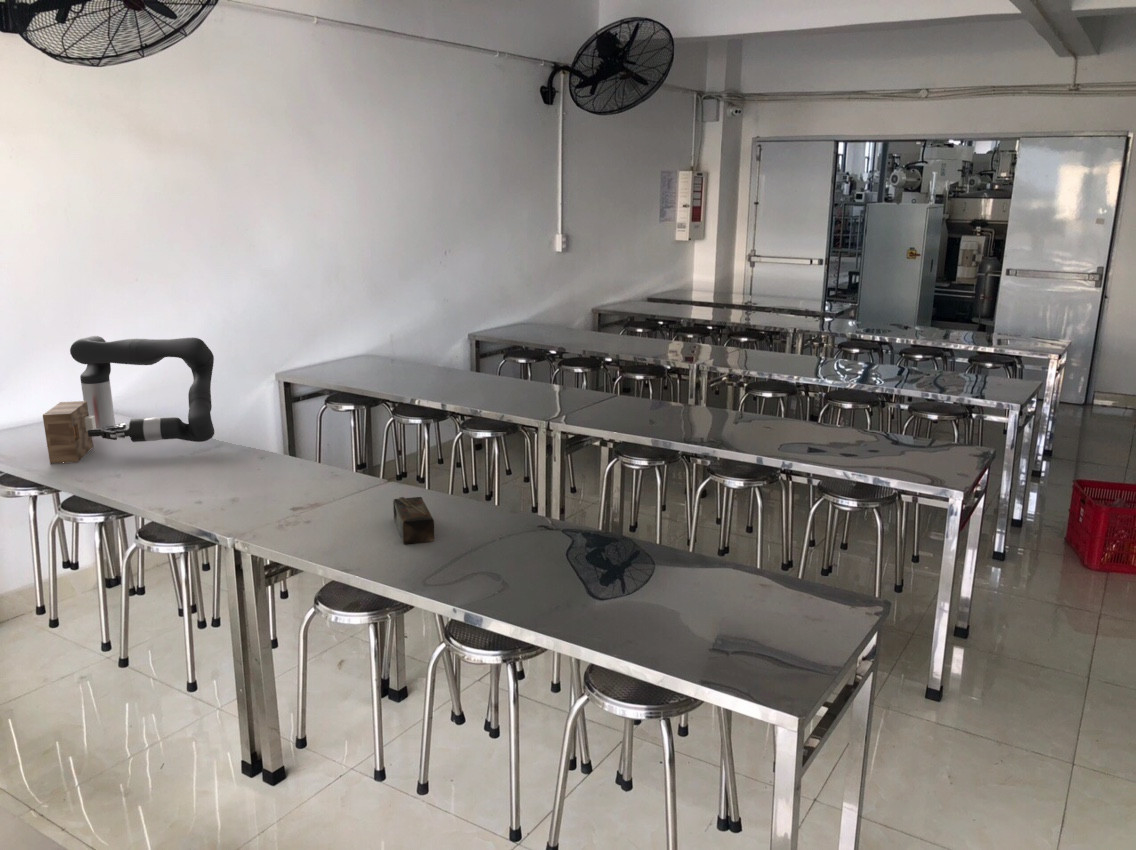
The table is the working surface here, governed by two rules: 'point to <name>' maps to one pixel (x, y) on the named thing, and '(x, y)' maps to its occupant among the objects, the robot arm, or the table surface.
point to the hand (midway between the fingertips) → (88, 432)
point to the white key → (90, 422)
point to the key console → (67, 432)
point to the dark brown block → (413, 520)
